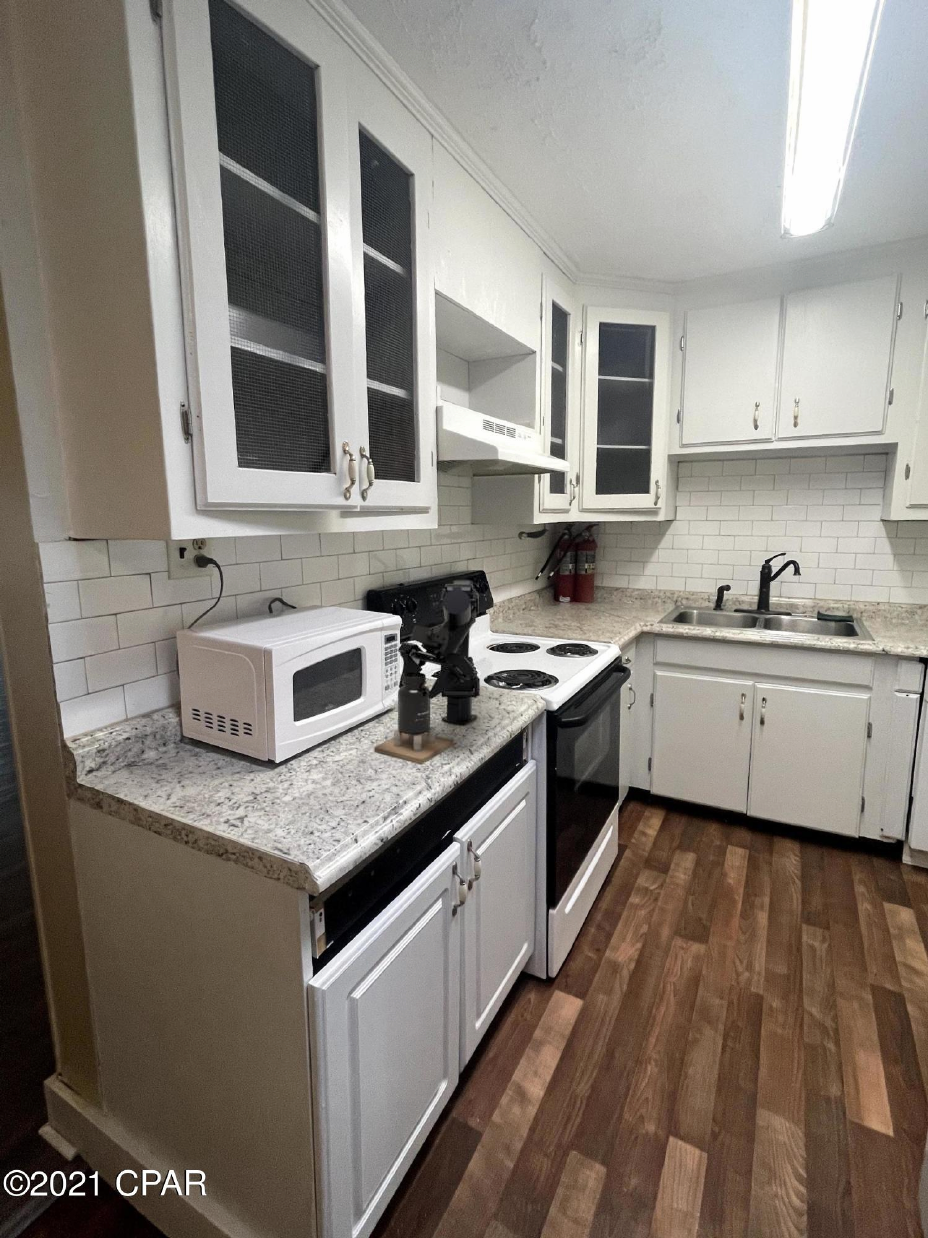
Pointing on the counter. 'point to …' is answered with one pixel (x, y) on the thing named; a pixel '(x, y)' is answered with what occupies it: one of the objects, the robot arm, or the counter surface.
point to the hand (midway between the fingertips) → (414, 693)
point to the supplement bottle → (413, 704)
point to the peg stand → (414, 746)
